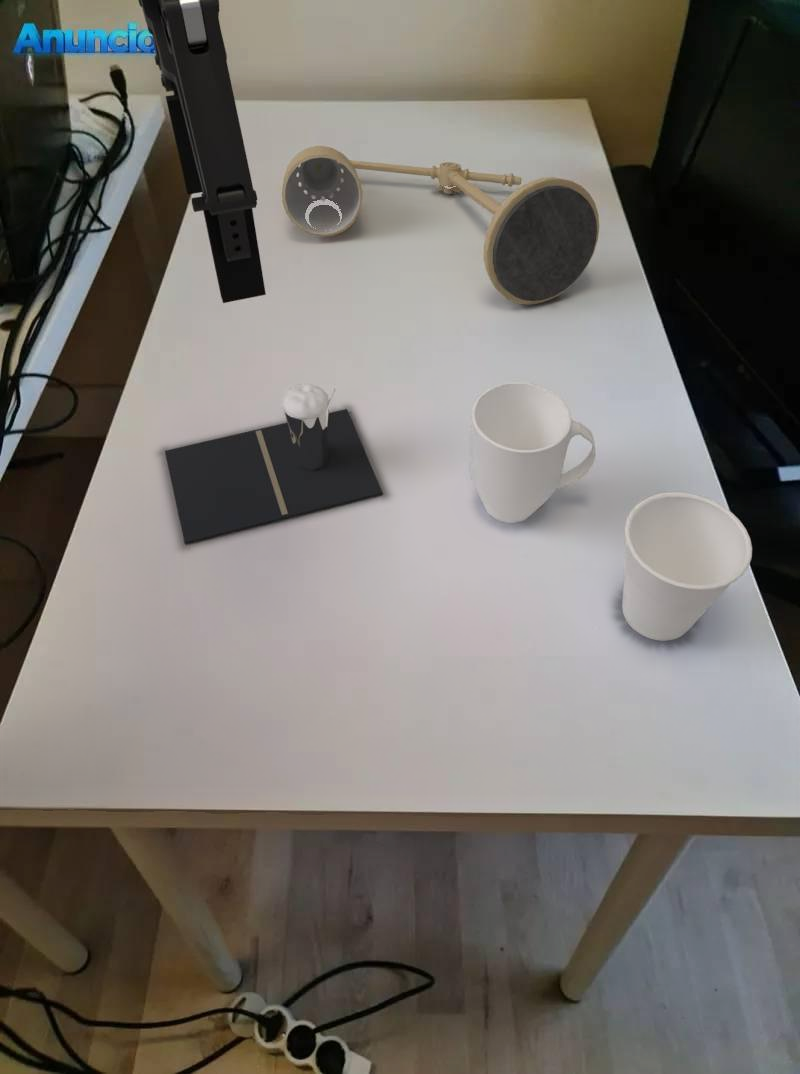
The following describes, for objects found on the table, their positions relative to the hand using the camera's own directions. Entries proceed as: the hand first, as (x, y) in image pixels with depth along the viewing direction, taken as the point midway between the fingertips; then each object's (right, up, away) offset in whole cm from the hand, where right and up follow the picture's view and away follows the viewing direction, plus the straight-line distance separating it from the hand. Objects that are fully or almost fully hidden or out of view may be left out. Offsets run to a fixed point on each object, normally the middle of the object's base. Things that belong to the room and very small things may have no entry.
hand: (223, 239), depth 56 cm
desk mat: (-1, -14, +30) cm, 33 cm away
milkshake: (+3, -12, +31) cm, 33 cm away
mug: (+24, -17, +27) cm, 40 cm away
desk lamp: (+15, +21, +57) cm, 63 cm away
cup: (+35, -27, +19) cm, 48 cm away
